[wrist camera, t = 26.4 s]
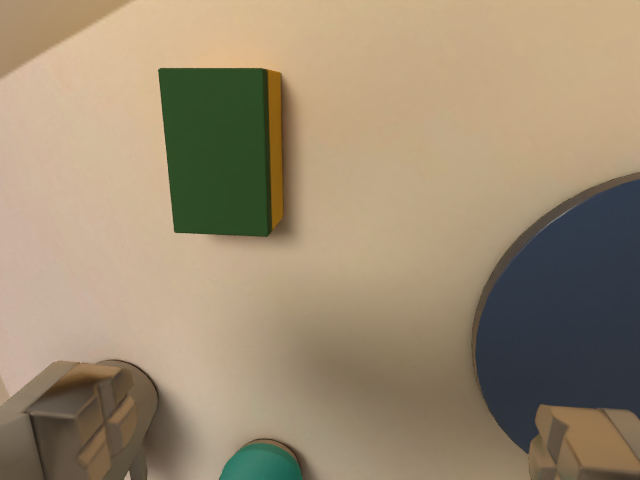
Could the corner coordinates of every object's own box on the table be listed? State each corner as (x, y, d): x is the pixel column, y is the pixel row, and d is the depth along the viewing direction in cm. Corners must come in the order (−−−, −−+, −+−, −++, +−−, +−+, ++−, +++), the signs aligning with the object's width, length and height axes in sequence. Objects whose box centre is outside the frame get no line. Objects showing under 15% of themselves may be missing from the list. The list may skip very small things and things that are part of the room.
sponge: (190, 72, 25) (157, 67, 21) (280, 72, 24) (263, 68, 20) (201, 213, 27) (173, 233, 23) (283, 216, 26) (268, 237, 23)
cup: (135, 331, 30) (48, 417, 22) (208, 445, 33) (153, 560, 24) (50, 366, 32) (-59, 458, 24) (125, 472, 34) (48, 588, 26)
